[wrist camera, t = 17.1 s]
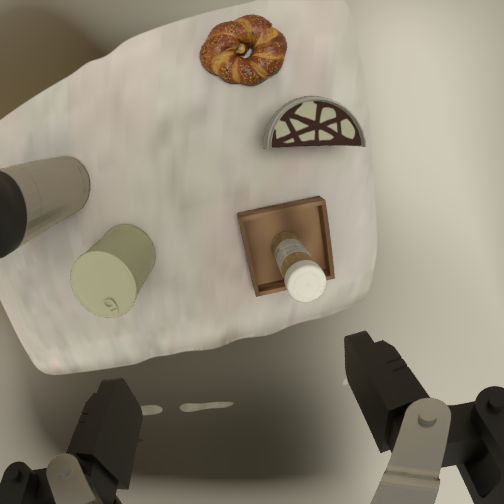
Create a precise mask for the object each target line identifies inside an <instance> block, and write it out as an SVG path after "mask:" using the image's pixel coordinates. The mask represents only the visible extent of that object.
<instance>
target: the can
mask: <svg viewBox="0 0 504 504" xmlns="http://www.w3.org/2000/svg"><path fill="white" fill-rule="evenodd" d="M154 263H155V249H154V246H153V243H152V241H151V240H150V238H149V237H148V236H147V234H146V233H145V232H143V231H142V230H141V229H139V228H137V227H135V226H132V225H118V226H115V227H113V228H111V229H110V230H108V231H107V232H106V233H105V235H104V236H103V237H102V238H101V239H100V240H99V241H98V242H97V243H96V244H94V245H93V246H92V247H91V248H90V249H89V250H88V251H86V252H85V253H84V254H83V255H81V256H80V257H79V258H78V259H77V260H76V261H75V263H74V264H73V267H72V270H71V275H70V281H71V287H72V290H73V292H74V295H75V296H76V298H77V300H78V301H79V302H80V304H81V305H82V306H83V307H84V308H86V309H87V310H88V311H90V312H91V313H93V314H95V315H98V316H100V317H105V318H115V317H119V316H122V315H124V314H125V313H127V312H128V311H129V310H130V309H131V308H132V306H133V305H134V303H135V300H136V297H137V295H138V293H139V291H140V288H141V287H142V285H143V283H144V281H145V279H146V277H147V275H148V274H149V273H150V271H151V270H152V268H153V266H154Z"/></svg>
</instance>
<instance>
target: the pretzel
mask: <svg viewBox="0 0 504 504" xmlns="http://www.w3.org/2000/svg"><path fill="white" fill-rule="evenodd" d="M249 47H251V48H253V52H252V53H251V54H250V56H249V57H248V58H246V59H245V58H243V57H240V56H241V55H245V53H246V52H247V50H248V49H249ZM286 50H287V42H286V39H285V37H284V35H283V34H282V33H281V32H279V31H278V30H277V29H275V28H272V23H270V22H269V21H268V20H266V19H265V18H263V17H261V16H258V15H246V16H243V17H240V18H238V19H236V20H235V21H229V22H224V23H220V24H218V25H216V26H215V27H214V28H213V29H212V31H211V32H210V34H209V35H208V38H207V40H206V42H205V43H204V45H203V46H202V49H201V51H200V59H201V63H202V65H203V66H204V68H205V69H207V70H208V71H209V72H210V73H212V74H215V75H218V76H220V77H221V78H222V79H223V80H224V81H226V82H229V83H235V84H236V83H241V82H242V83H244V84H246V85H256V84H258V83H261V82H262V81H264V80H265V79H266V78H267V77H268V75H274V74H275V73H277V72H278V71H279V70H280V68H281V67H282V64H283V61H284V57H285V53H286Z"/></svg>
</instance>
